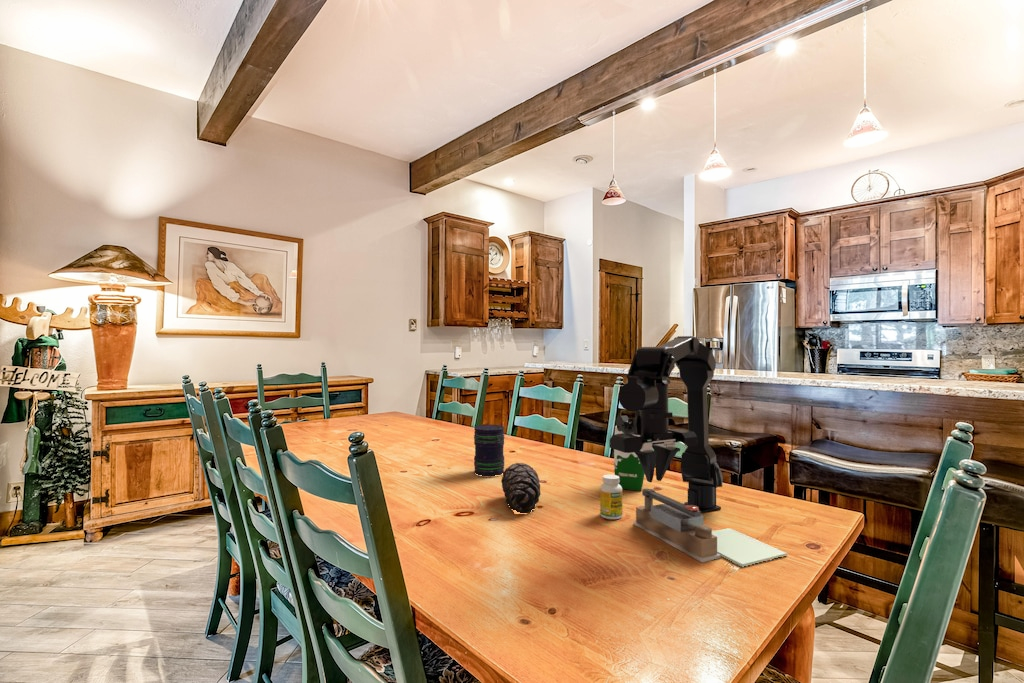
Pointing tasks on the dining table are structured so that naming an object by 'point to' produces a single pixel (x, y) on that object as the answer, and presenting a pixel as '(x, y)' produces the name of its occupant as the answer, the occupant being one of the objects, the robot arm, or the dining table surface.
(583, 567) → the dining table surface
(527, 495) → the pine cone
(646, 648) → the dining table surface
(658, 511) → the flat grey slab block
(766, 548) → the mat
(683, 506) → the lever
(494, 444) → the storage jar
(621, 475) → the milk carton
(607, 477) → the supplement bottle
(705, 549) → the body
